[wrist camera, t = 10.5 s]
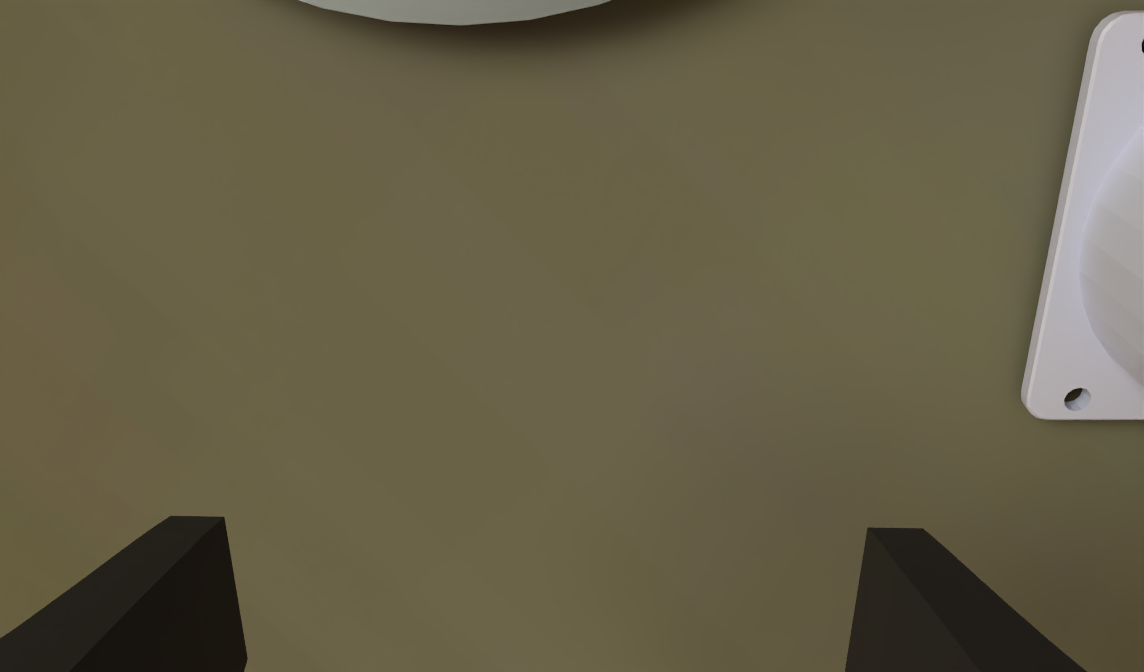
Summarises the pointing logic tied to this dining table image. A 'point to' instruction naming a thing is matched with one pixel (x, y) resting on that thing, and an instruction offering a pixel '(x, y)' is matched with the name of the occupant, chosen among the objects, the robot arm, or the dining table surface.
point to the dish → (454, 9)
